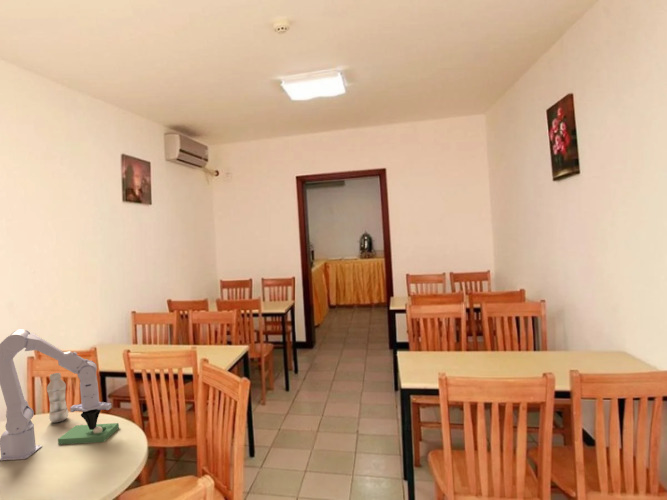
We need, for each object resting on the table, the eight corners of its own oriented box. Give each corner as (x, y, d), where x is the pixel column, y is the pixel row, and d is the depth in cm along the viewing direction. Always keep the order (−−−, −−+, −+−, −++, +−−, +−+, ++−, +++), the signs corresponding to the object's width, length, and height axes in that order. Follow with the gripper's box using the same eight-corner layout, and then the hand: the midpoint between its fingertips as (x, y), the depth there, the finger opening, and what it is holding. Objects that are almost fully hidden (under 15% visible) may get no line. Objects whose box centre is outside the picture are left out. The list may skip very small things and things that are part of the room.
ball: (99, 428, 147) (99, 437, 147) (104, 424, 150) (104, 432, 150) (91, 428, 147) (91, 436, 147) (96, 424, 150) (95, 432, 150)
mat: (58, 444, 143) (57, 439, 143) (76, 430, 153) (75, 425, 153) (104, 441, 143) (103, 436, 143) (118, 427, 153) (118, 423, 153)
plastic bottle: (55, 418, 165) (51, 372, 164) (72, 416, 166) (68, 370, 165) (46, 425, 159) (41, 378, 158) (63, 423, 159) (59, 376, 158)
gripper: (63, 399, 143) (66, 434, 144) (102, 397, 143) (105, 432, 144) (76, 391, 150) (79, 425, 151) (113, 389, 150) (116, 423, 151)
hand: (92, 428), depth 148 cm, fingers closed
